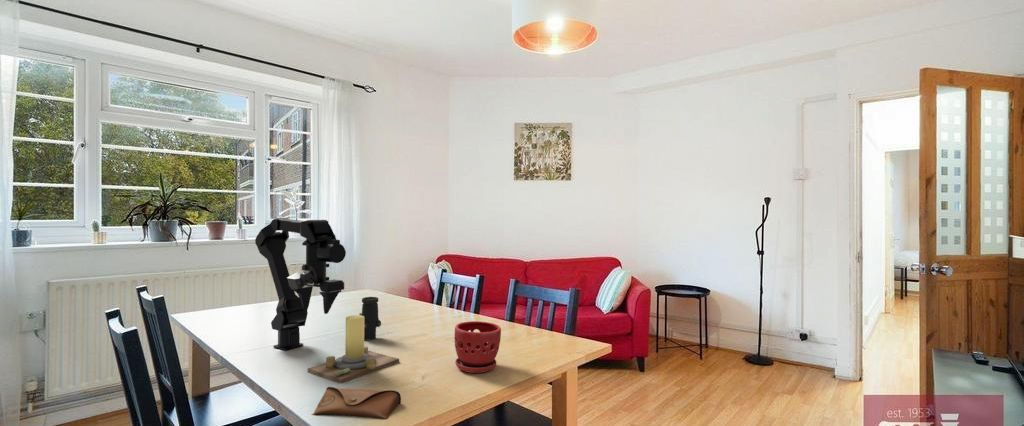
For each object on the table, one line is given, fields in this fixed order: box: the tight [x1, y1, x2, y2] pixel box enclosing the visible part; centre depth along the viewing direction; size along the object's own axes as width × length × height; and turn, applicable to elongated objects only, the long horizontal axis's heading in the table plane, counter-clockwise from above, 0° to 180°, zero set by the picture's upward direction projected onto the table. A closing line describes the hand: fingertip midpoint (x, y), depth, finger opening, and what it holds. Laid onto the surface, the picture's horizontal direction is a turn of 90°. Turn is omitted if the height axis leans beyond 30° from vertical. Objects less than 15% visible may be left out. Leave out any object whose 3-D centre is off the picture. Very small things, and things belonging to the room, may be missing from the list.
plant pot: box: [454, 320, 502, 374], centre depth 131 cm, size 13×13×12 cm
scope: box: [358, 296, 382, 341], centre depth 160 cm, size 8×14×10 cm
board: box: [307, 346, 400, 384], centre depth 130 cm, size 15×20×4 cm
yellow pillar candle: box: [341, 314, 368, 364], centre depth 130 cm, size 7×7×12 cm
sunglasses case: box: [311, 386, 402, 420], centre depth 104 cm, size 18×7×7 cm
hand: (315, 311), depth 141 cm, fingers open, 9 cm apart
